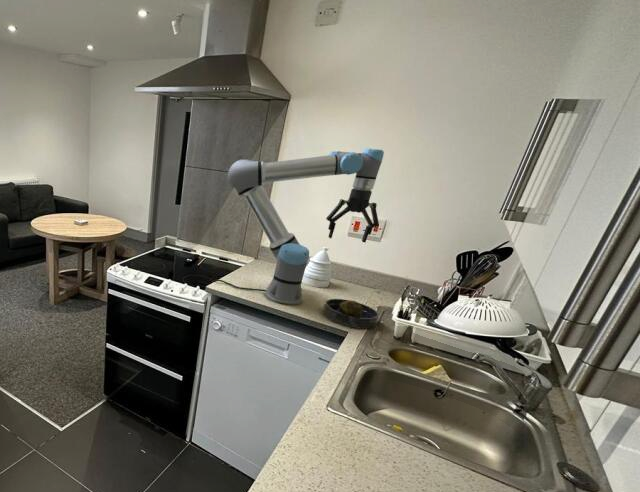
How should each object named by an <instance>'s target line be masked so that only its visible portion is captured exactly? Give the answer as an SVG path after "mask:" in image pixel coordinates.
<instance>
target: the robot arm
mask: <svg viewBox="0 0 640 492" xmlns="http://www.w3.org/2000/svg"><path fill="white" fill-rule="evenodd" d="M384 154H385V152H384V150H383V149H377V148H364V149H363V150H362V152H354V151H353V152H350V151H340V150H338V151H336V150H332V151H330V152H329V154H328V155H320V156H311V157H303V158H296V159H288V160H287V159H286V160H279V161H271V162H264V161H263V160H257V161H253V160H250V159H247V158H241V159H239V160H237V161H235V162H233V163H232V165H231V166H230V168H228V169H229V170H228V172H227V180H228V183H229V184H230V185H231V186H232V187H233V188H234V189H235V191H236V192H237V194H238V196H239V197H243V198H244V199H245V201H246V202H247V204H248V206H249V207H250V210H251V211H252V214H253V215H254V217H255V218H256V220H257V221H258V223H259V225H260V227H261V228H262V231H263V232H264V233H265V235H266V237H267V239H268V240H269V247H268V248H269V249H270V251H271V253H272V255H273V256H274V258H275V260H276V265H275V268H274V273H273V277H272V280H271V281H270V283H269V285H268V286H267V288H266V289H261V288H252V287H241V286H237V285H235V284H233V283H230V282H227V281H226V280H222V279H214V280H212V283H216V282H220V283H224V284H226V285H228V286H231V287H233V288H235V289H239V290H246V291H247V290H249V291H256V292H257V291H258V292H264V296H265V297H266V299H268V300H269V301H272V302H274V303H277V304H282V305H289V306H294V305H295V306H297V305H300V304H301V303H302V299H303V293H302V283H303V282H302V279H303V275H304V272H305V268H306V267H307V265H308V261H309V260H310V250H309V248H307V246H304V245H302V244H300V242H299V241H298V239H297V237H296V235H295V234H294V233H292V232H289V231H288V229H287V227H286V225H285V224H284V221H283V220H282V218H281V217H280V215H279V213H278V211H277V210H276V208H275V206H274V205H273V203H272V201H271V199H270V197H269V196H268V194H267V192H266V189H265V188H264V187H263V186H264V184H267V183H274V182H275V183H276V182H284V181H293V180H301V179H303V180H304V179H310V178H311V179H313V178H321V177H328V176H341V175H347V176H349V175H354V174H355V177H354V180H353V183H352V189H351V190H350V193H349V196H348V199H347V200H346V199H343V198H340V199H339V202H338V204H337V205H336V206H335V207H334V208H333V210H331V212H330V213H329V214H328V215H327V217H326V218H325V219H326V221H328V222H329V224H328V228H327V229H328V231H329V232H328V236H327V237H328V238H329V239H332V238H333V235H334V232H335V228H336V222H337V221H338V220H339V219H341V218H342V217H344V216H345V215H346V214H348V213H350V212H351V213H359V214H360V213H361V214H362V216H363V218H364V220H365V221H366V223H367V225H366V227H365V229H364V232H363V234H362V238H361V242H362V243H367V239H368V236H370V235H371V234H372V232H373V228H375V227H379V226H380V222H379V217H378V212H377V206H378V204H377V203H376V202H370V200H371V196H372V193H373V192H372V190H374V187H375V184H376V181H377V177H378V174H379V171H380V169H381V165H382V162H383V159H384ZM345 205H346V207H345V208H344V209H343V210H341V209H342V208H343V206H345ZM367 208H369V209H370V211H371V212H370V213H371V217H372V219H371V217H370V215H369V214H368V212H367V210H366V209H367ZM340 210H341V211H340Z"/></svg>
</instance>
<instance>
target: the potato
mask: <svg viewBox="0 0 640 492" xmlns="http://www.w3.org/2000/svg"><path fill="white" fill-rule="evenodd" d="M349 300H350V299H349ZM361 304H362V303H361ZM361 304H360V302H358V301H356V300H350V301H345V302H342V303H341V304H340V310H341V311H342V312H343V313H344V314H345V315H349V316H353V317H359V316H361V314H362V313H363V308H362V306H361Z"/></svg>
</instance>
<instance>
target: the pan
mask: <svg viewBox="0 0 640 492" xmlns="http://www.w3.org/2000/svg"><path fill="white" fill-rule="evenodd" d="M345 301H350V299H343V298H329V299H327V300H325V302H324V305H323V308H322V314H323V315H324V316H325V317H326V318H327V319H329V320H331V321H333V322H334V323H337V324H340V325H342V326H346V327H350V328H355V329H371V328H374V327H375V326H376V325H377V322H378V319H379V317H380V313H378V311H377V310H375V309H374V308H372V306H369V305H366V304H364V303H360V302H359V303H360V304H361V306H362V308H363V313H362V314H361V316H359V317H353V316H349V315H345V314H344V313H343V312H342V311H341V310H340V304H341V303H342V302H345Z"/></svg>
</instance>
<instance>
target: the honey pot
mask: <svg viewBox="0 0 640 492" xmlns="http://www.w3.org/2000/svg"><path fill="white" fill-rule="evenodd" d="M328 250H329V247H328V246H323V247H322V250H320V251H318V252H317V253H316V254H315V255H313V256H312V257H309V262H308V263H307V264H306V268H305V272H304V275H303V279H302V282H301V283H303V284H305V285H306V286H311V287H315V288H328V287H329V285H330V281H331V277H332V273H331V272H332V271H331V270H332V268H331V264H332V261H331V260H330V256H329V254H328V252H327V251H328Z"/></svg>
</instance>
